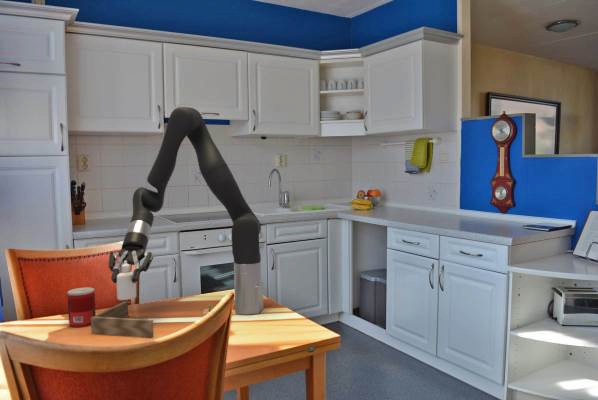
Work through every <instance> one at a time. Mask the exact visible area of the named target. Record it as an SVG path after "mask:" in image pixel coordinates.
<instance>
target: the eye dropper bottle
mask: <svg viewBox="0 0 598 400" xmlns="http://www.w3.org/2000/svg"><path fill="white" fill-rule="evenodd" d="M121 267H122V270H121V272H119V274H118V275H117V276H116V283H115V284H116V298H117V300H118V301H128V300H132V299H136V298H137V282H136V283H133V282H132V276H133V272H134V271H131V264H130V265H129V264H127V261H124V264H123V265H122V266H121Z"/></svg>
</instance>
